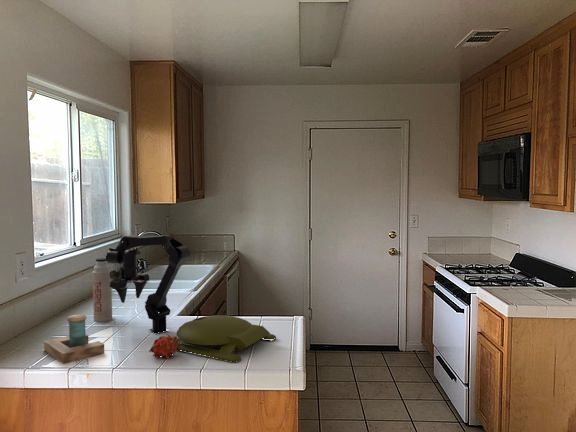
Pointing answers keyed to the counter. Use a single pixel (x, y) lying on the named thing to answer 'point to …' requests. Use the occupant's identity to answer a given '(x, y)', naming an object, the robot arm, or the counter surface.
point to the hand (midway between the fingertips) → (130, 300)
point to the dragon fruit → (165, 346)
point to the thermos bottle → (102, 291)
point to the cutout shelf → (72, 349)
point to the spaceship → (220, 336)
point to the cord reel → (77, 330)
